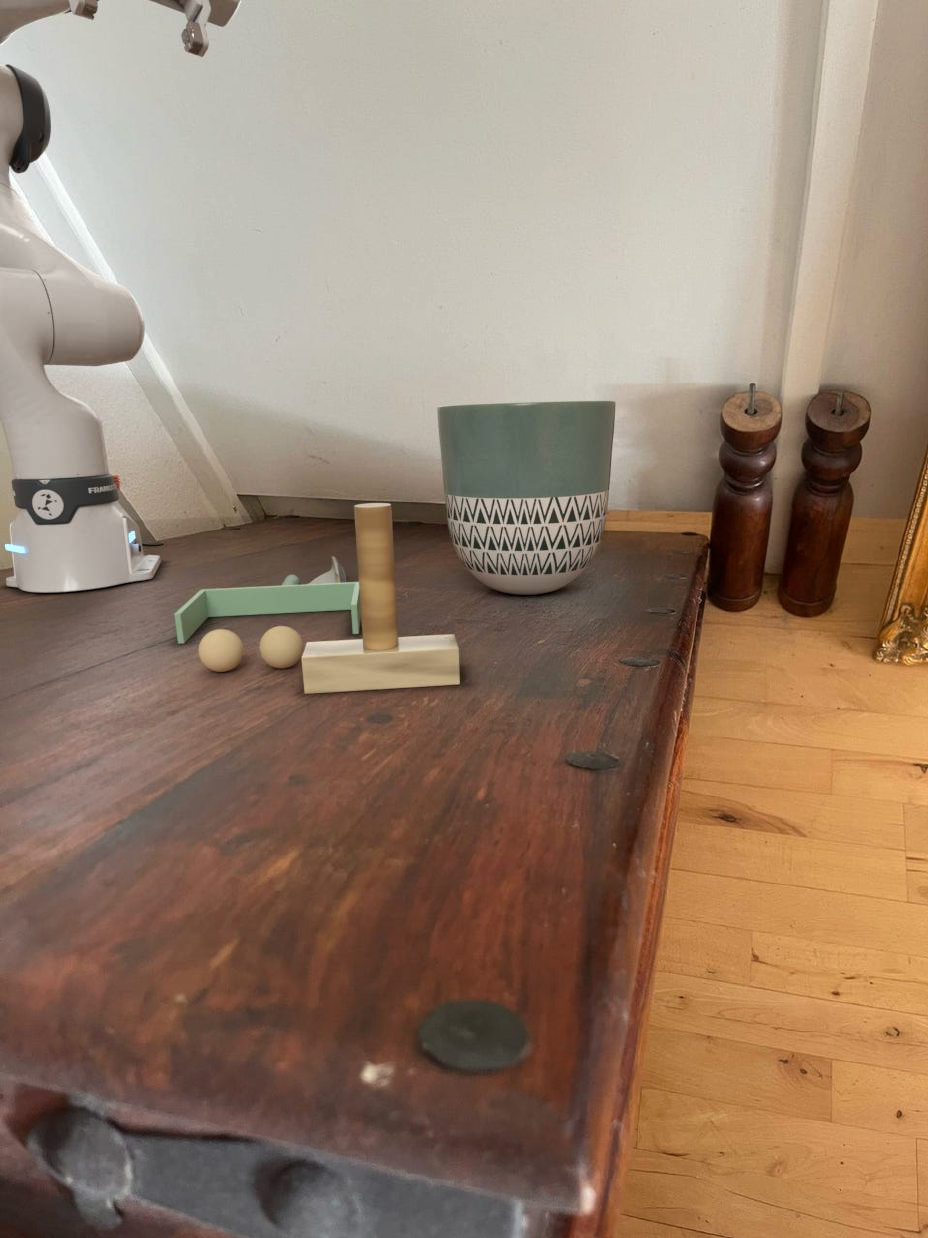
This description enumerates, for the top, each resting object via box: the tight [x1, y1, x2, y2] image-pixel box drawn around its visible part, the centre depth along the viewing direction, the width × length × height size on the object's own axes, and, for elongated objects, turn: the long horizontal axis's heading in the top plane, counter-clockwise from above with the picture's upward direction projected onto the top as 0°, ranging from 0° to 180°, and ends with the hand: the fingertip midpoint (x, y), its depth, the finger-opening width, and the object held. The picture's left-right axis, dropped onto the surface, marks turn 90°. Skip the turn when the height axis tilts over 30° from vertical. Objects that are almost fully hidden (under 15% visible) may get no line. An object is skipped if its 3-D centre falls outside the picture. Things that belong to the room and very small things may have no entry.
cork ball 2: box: [259, 625, 304, 669], centre depth 63 cm, size 4×4×4 cm
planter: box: [436, 400, 617, 596], centre depth 86 cm, size 20×20×21 cm
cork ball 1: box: [197, 628, 244, 673], centre depth 63 cm, size 4×4×4 cm
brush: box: [300, 502, 461, 695], centre depth 58 cm, size 4×12×14 cm, turn 96°
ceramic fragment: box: [308, 555, 347, 584], centre depth 92 cm, size 14×5×4 cm, turn 12°
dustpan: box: [173, 574, 361, 645], centre depth 81 cm, size 20×17×3 cm
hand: (144, 31), depth 62 cm, fingers open, 8 cm apart
